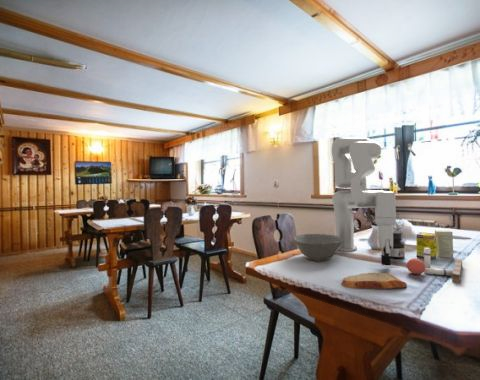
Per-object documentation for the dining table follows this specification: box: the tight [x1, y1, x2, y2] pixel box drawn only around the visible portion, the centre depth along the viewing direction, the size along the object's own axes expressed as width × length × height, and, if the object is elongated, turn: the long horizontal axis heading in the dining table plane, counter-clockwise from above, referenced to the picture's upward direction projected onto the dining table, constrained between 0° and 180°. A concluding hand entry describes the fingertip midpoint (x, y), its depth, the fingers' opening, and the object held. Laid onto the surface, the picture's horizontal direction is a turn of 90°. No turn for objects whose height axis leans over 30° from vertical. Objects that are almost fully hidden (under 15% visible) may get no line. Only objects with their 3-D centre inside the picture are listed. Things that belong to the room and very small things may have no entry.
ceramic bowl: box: [293, 233, 343, 262], centre depth 129 cm, size 22×23×10 cm
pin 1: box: [423, 248, 432, 268], centre depth 110 cm, size 2×2×8 cm
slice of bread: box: [341, 272, 408, 290], centre depth 95 cm, size 18×18×4 cm
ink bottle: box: [390, 230, 406, 260], centre depth 129 cm, size 10×9×12 cm
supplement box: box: [415, 232, 437, 260], centre depth 127 cm, size 6×6×11 cm
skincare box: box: [434, 229, 454, 259], centre depth 128 cm, size 6×4×12 cm
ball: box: [406, 257, 425, 275], centre depth 105 cm, size 6×6×6 cm
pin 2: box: [423, 267, 453, 277], centre depth 103 cm, size 2×2×8 cm
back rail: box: [451, 258, 463, 284], centre depth 104 cm, size 24×2×3 cm, turn 139°
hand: (385, 264), depth 113 cm, fingers closed
